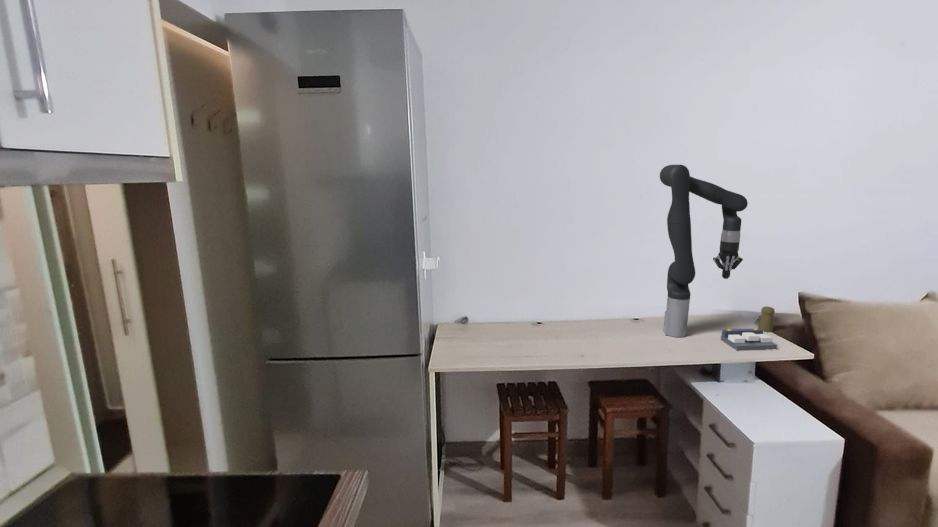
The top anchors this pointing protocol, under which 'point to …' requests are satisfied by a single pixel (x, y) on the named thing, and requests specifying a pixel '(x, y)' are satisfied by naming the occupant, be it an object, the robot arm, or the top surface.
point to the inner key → (736, 338)
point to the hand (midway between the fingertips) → (725, 278)
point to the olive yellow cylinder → (766, 319)
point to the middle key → (750, 336)
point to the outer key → (764, 338)
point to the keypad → (748, 344)
